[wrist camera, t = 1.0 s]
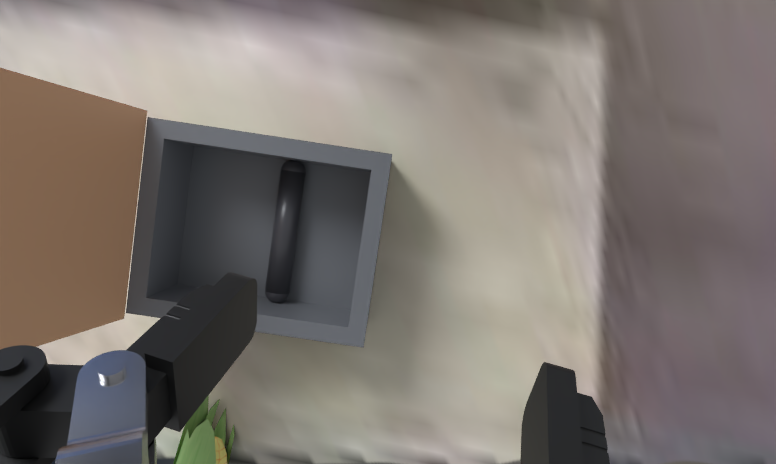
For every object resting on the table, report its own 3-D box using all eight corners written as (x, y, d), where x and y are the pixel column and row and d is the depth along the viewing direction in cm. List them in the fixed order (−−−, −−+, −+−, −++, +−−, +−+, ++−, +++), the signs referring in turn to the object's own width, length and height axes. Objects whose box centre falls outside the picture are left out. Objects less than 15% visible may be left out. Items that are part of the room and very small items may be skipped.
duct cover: (147, 110, 32) (133, 109, 32) (-181, 14, 16) (-205, 12, 16) (124, 318, 33) (110, 315, 33) (-206, 423, 17) (-229, 417, 17)
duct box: (185, 129, 38) (147, 117, 32) (391, 160, 38) (392, 154, 32) (165, 294, 39) (126, 312, 33) (367, 324, 39) (363, 347, 33)
